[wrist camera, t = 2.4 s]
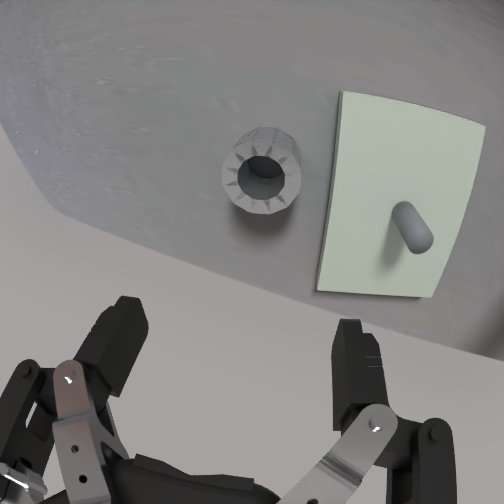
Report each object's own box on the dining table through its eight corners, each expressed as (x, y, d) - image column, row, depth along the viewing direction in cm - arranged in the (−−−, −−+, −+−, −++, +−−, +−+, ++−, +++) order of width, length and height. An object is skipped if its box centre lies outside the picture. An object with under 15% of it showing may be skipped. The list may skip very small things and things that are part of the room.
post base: (339, 90, 22) (354, 96, 16) (474, 122, 20) (516, 141, 14) (316, 278, 33) (318, 324, 27) (426, 286, 31) (443, 328, 26)
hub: (234, 127, 25) (220, 139, 21) (302, 130, 24) (303, 143, 20) (235, 188, 28) (223, 211, 24) (298, 192, 28) (297, 216, 23)
